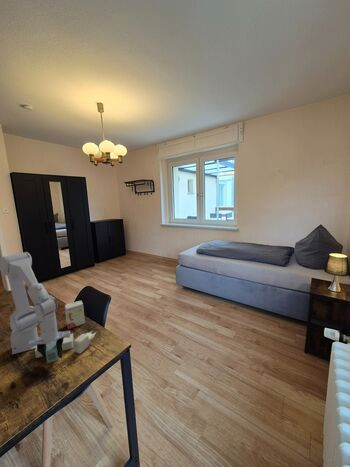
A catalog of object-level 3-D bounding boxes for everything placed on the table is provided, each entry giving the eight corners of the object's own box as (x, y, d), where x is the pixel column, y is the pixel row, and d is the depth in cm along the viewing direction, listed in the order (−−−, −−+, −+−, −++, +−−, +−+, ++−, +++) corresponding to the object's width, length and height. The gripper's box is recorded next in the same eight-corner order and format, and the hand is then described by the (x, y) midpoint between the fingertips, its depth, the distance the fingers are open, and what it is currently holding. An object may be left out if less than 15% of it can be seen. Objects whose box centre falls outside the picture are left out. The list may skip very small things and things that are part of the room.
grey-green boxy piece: (47, 364, 81) (45, 352, 80) (50, 350, 88) (48, 339, 87) (58, 360, 82) (56, 349, 81) (60, 347, 90) (59, 336, 89)
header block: (35, 358, 84) (34, 350, 83) (39, 347, 90) (38, 340, 89) (72, 348, 89) (71, 340, 89) (73, 339, 95) (72, 332, 95)
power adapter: (91, 336, 97) (90, 325, 96) (99, 338, 95) (98, 327, 94) (72, 352, 87) (71, 340, 86) (81, 355, 85) (79, 343, 84)
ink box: (67, 329, 103) (65, 308, 101) (66, 324, 107) (64, 304, 105) (85, 323, 107) (83, 303, 106) (83, 319, 111) (81, 300, 110)
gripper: (24, 338, 74) (29, 370, 76) (67, 327, 80) (71, 357, 82) (29, 328, 80) (34, 357, 83) (69, 318, 86) (72, 346, 88)
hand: (52, 356), depth 83 cm, fingers closed on grey-green boxy piece, 4 cm apart
